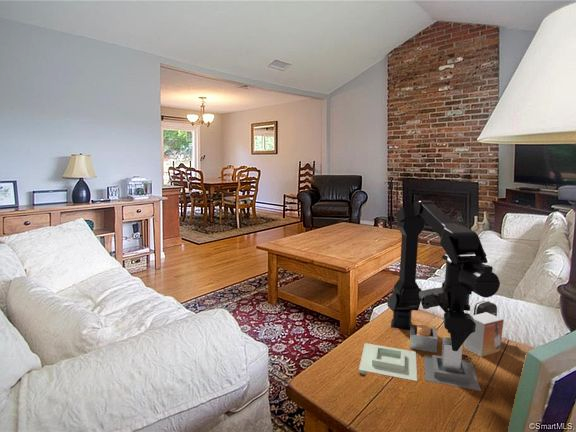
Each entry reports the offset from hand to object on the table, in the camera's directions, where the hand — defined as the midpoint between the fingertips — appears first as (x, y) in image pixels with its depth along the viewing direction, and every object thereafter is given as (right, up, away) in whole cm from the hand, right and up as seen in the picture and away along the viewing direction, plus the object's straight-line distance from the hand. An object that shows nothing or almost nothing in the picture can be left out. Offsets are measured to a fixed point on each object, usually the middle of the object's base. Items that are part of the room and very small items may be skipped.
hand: (452, 341), depth 88 cm
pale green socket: (-14, -8, +6) cm, 17 cm away
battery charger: (+19, -7, +20) cm, 28 cm away
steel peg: (0, -8, +1) cm, 8 cm away
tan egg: (-2, -6, +14) cm, 16 cm away
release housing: (-2, -7, +14) cm, 16 cm away
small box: (+14, -8, +12) cm, 20 cm away
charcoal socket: (0, -9, +1) cm, 9 cm away
